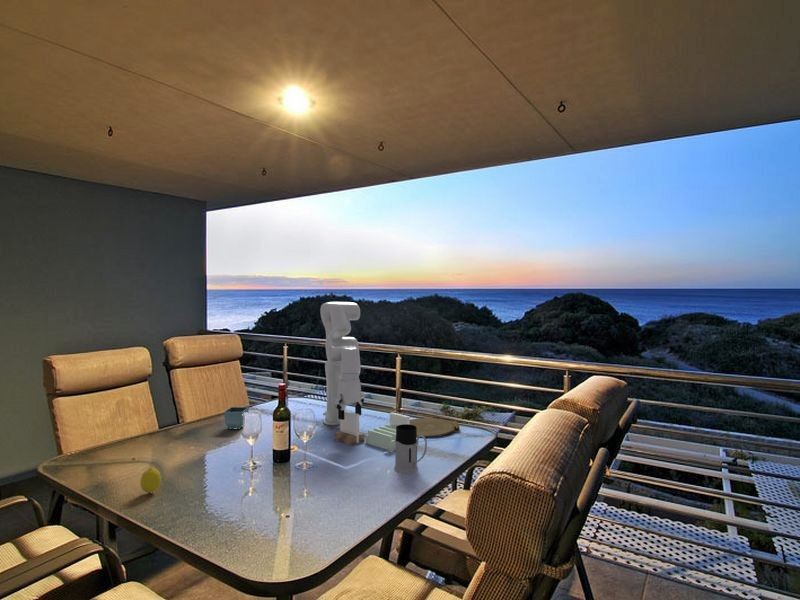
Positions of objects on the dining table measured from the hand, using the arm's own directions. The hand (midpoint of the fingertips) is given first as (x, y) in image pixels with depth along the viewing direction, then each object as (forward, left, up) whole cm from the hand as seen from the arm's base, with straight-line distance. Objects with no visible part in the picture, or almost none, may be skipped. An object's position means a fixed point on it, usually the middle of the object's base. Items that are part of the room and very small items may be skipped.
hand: (349, 417), depth 184 cm
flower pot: (-55, -22, -11) cm, 60 cm away
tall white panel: (-1, 0, -10) cm, 10 cm away
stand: (-1, 0, -11) cm, 11 cm away
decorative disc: (+12, +38, -12) cm, 42 cm away
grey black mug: (+38, -6, -11) cm, 40 cm away
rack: (+13, +11, -11) cm, 21 cm away
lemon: (-12, -74, -11) cm, 75 cm away
